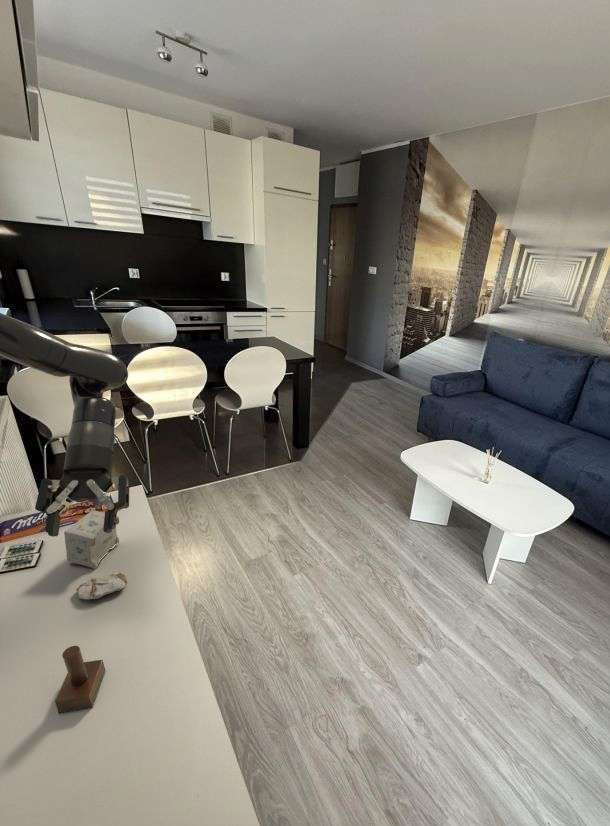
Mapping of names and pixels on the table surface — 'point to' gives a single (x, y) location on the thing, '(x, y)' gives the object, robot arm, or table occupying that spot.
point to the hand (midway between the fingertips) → (80, 534)
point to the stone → (101, 586)
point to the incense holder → (89, 540)
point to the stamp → (79, 682)
